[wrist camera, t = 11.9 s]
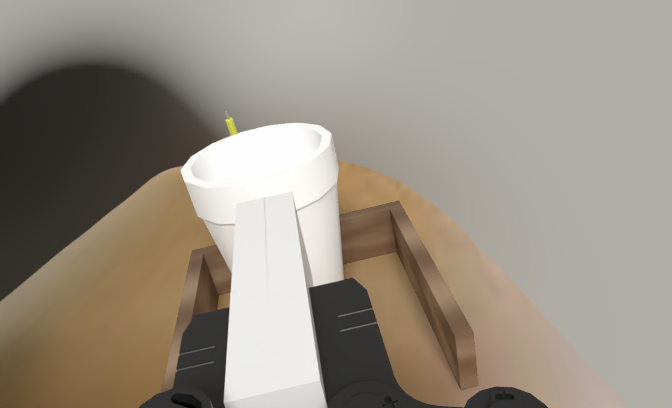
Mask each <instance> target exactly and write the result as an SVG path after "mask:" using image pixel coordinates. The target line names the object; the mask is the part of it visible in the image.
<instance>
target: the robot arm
mask: <svg viewBox="0 0 672 408" xmlns="http://www.w3.org/2000/svg"><path fill="white" fill-rule="evenodd" d="M179 354H180V356H178V362H177V367H176V369H177V372H176V373H175V379H174V384H173V388H172V389H170V390H167V391H164V392H162V393H159V394H157V395H155V396H154V397H152V398H151V399H149V400H148V401H146V402H145V403H143V404H142V405H141V406H140V407H139V408H462V407H445V406H435V405H429V404H425V403H423V402H420V401H418V400H415V399H414V398H412V397H411V396H409V395H408V394H406V393H405V392H404V391H403V390H402V388H401V387H400V386H399V385H398V383H397V381H396V379H395V377H394V374H393V371H392V368H391V365H390V362H389V358H388V355H387V352H386V349H385V346H384V343H383V340H382V336H381V333H380V330H379V327H378V324H377V321H376V318H375V314H374V311H373V309H372V305H371V302H370V299H369V296H368V292H367V290H366V289H365V288H364V287H363V286H362V285H360V284H359V283H358V282H357V281H356V280H355V279H354V278H350V279H345V280H341V281H337V282H332V283H328V284H323V285H319V286H315V287H314V285H313V279H312V273H311V269H310V265H309V261H308V256H307V252H306V248H305V244H304V240H303V235H302V231H301V227H300V223H299V219H298V215H297V210H296V206H295V202H294V198H293V194H292V191H291V192H287V193H282V194H278V195H273V196H268V197H264V198H259V199H255V200H250V201H245V202H241V203H236V218H235V233H234V249H233V264H232V280H231V295H230V307H229V308H224V309H220V310H215V311H211V312H207V313H202V314H198V315H195V316H194V317H193V319H192V320H191V322H190V323H189V325H188V326H187V328H186V329H185V331H184V332H183V334H182V339H181V345H180V351H179ZM464 408H548V407H547V406H546V405H545V404H544V403H542V402H541V401H540V400H538V399H537V398H536V397H534V396H533V395H532V394H530V393H527V392H525V391H522V390H519V389H516V388H513V387H493V388H489V389H485V390H482V391H479V392H478V393H477V394H475V395H474V396H473V397H471V398H470V399H469V400H468V401H467V403H466V405H465V407H464Z"/></svg>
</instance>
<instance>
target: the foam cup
mask: <svg viewBox="0 0 672 408" xmlns="http://www.w3.org/2000/svg"><path fill="white" fill-rule="evenodd" d="M338 169H339V166H338V162H337V157H336V152H335V147H334V143H333V138H332V133H330V132H329V131H327V130H326V129H324V128H323V127H321V126H320V125H312V124H304V123H290V124H280V125H269V126H265V127H261V128H257V129H253V130H248V131H244V132H240V133H238V134H235V135H233V136H230V137H227V138H225V139H222V140H220V141H218V142H215V143H212V144H211V145H209V146H207V147H206V148H204V149H203V150H201V151H199V152H198V153H196V154H195V155H193V156H191V158H190V159H189V160H188V162H187V163H186V164H185V165H184V166H183V168H182V169H181V173H182V176H183V179H184V181H185V184H186V187H187V189H188V192H189V195H190V198H191V200H192V203H193V206H194V208H195V211H196V214H197V216H198V217H200V218H202V219H203V221H204V223H205V224H206V226H207V228H208V230H209V232H210V234H211V236H212V237H213V239H214V241H215V243H216V245H217V247H218V249H219V250H220V252H221V254H222V256H223V258H224V260H225V262H226V264H227V265H228V267H229V269H230V271H231V273H232V264H233V249H234V233H235V218H236V203H241V202H245V201H250V200H255V199H259V198H264V197H268V196H273V195H278V194H282V193H287V192H291V191H292V194H293V198H294V202H295V206H296V210H297V215H298V219H299V223H300V227H301V231H302V235H303V240H304V244H305V248H306V252H307V256H308V261H309V265H310V269H311V273H312V279H313V285H314V287H315V286H319V285H323V284H328V283H332V282H337V281H341V280H344V273H343V260H342V246H341V233H340V219H339V205H338V192H337V177H338Z"/></svg>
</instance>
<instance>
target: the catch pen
mask: <svg viewBox="0 0 672 408" xmlns="http://www.w3.org/2000/svg"><path fill="white" fill-rule="evenodd" d="M339 219H340V233H341V246H342V260H343V264H346V263H350V262H354V261H358V260H362V259H366V258H370V257H374V256H378V255H382V254H386V253H390V252H395V251H397V253H398V255H399V257H400V259H401V261H402V264H403V266H404V268H405V270H406V272H407V274H408V276H409V279H410V281H411V283H412V285H413V287H414V289H415V291H416V294H417V296H418V298H419V300H420V302H421V304H422V307H423V309H424V311H425V313H426V315H427V317H428V319H429V322H430V324H431V326H432V328H433V330H434V332H435V334H436V337H437V339H438V341H439V343H440V345H441V347H442V350H443V352H444V354H445V356H446V358H447V360H448V362H449V365H450V367H451V369H452V371H453V373H454V375H455V378H456V380H457V382H458V384H459V386H460V388H461V390H462V389H466V388H470V387H473V386H477V385H478V377H477V367H476V356H475V345H474V334H473V331H472V329H471V327H470V325H469V323H468V322H467V320H466V318H465V316H464V315H463V313H462V311H461V309H460V308H459V306H458V304H457V302H456V301H455V299H454V297H453V295H452V294H451V292H450V290H449V288H448V286H447V285H446V283H445V281H444V279H443V278H442V276H441V274H440V272H439V271H438V269H437V267H436V265H435V264H434V262H433V260H432V258H431V256H430V255H429V253H428V251H427V249H426V248H425V246H424V244H423V242H422V241H421V239H420V237H419V235H418V234H417V232H416V230H415V228H414V227H413V225H412V223H411V221H410V219H409V218H408V216H407V214H406V212H405V211H404V209H403V207H402V205H401V204H400V202H399V201H395V202H391V203H387V204H383V205H379V206H375V207H371V208H366V209H362V210H358V211H354V212H350V213H346V214H342V215H339ZM231 280H232V273H231V271H230V269H229V267H228V265H227V264H226V262H225V260H224V258H223V256H222V254H221V252H220V250H219V249H218V247H217V245H213V246H209V247H205V248H201V249H196V250H192V253H191V258H190V262H189V267H188V271H187V276H186V280H185V285H184V290H183V294H182V299H181V303H180V308H179V313H178V317H177V322H176V326H175V331H174V335H173V340H172V345H171V349H170V354H169V358H168V363H167V368H166V372H165V377H164V381H163V386H162V390H161V393H162V392H164V391H167V390H170V389H172V388H173V384H174V379H175V373H176V372H177V369H176V367H177V362H178V356H180V354H179V351H180V345H181V339H182V334H183V332H184V331H185V329H186V328H187V326H188V325H189V323H190V322H191V320H192V319H193V317H194V316H195V315H198V314H202V313H207V312H211V311H215V310H217V303H218V295H219V294H223V293H227V292H231Z"/></svg>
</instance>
